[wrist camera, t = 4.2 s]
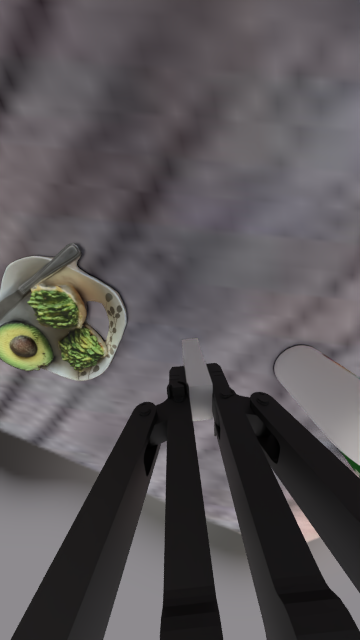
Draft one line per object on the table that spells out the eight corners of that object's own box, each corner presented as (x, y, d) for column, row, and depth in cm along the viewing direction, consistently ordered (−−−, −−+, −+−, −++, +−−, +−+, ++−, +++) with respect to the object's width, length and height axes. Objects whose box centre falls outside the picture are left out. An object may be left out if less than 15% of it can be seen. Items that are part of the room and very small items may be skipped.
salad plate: (16, 209, 21) (-25, 197, 17) (151, 282, 25) (146, 288, 20) (-14, 338, 26) (-50, 355, 22) (101, 383, 30) (88, 405, 26)
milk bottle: (269, 384, 31) (419, 583, 12) (275, 344, 28) (480, 522, 9) (312, 381, 31) (527, 574, 12) (323, 342, 28) (616, 511, 10)
